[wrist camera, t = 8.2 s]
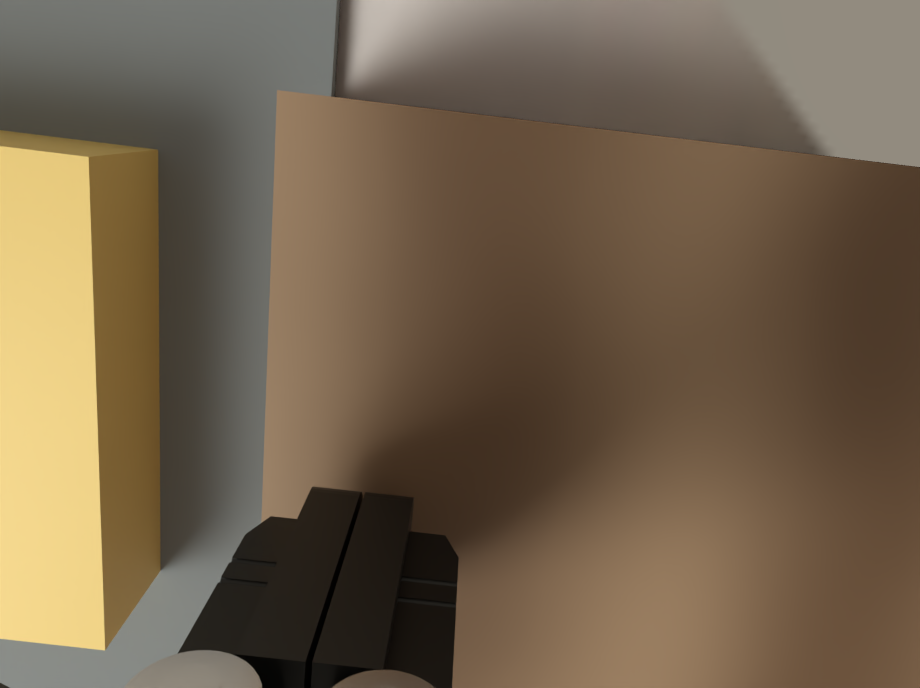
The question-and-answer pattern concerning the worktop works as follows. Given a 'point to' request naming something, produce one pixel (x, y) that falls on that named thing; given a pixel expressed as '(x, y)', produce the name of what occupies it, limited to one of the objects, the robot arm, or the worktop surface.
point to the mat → (179, 257)
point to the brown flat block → (610, 389)
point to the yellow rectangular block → (77, 387)
